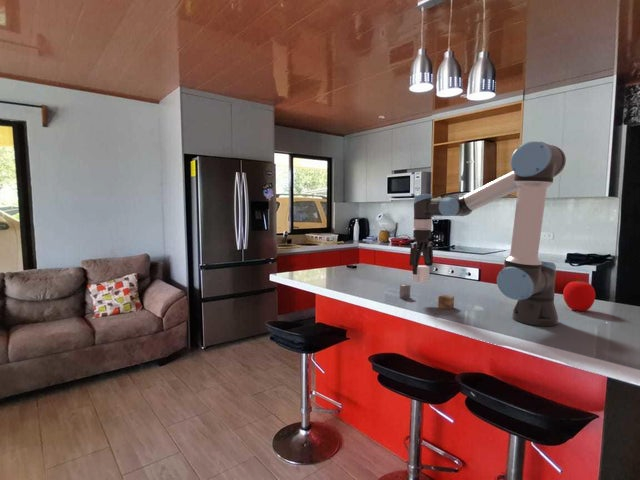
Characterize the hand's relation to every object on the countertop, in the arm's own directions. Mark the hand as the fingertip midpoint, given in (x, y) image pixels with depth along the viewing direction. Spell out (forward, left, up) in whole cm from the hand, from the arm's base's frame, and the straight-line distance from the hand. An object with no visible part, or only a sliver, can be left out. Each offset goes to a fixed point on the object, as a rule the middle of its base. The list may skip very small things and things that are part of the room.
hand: (421, 280), depth 166 cm
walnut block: (-12, -2, -10) cm, 16 cm away
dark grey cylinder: (+10, -2, -10) cm, 15 cm away
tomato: (-48, -44, -10) cm, 66 cm away
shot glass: (0, 0, -1) cm, 1 cm away
